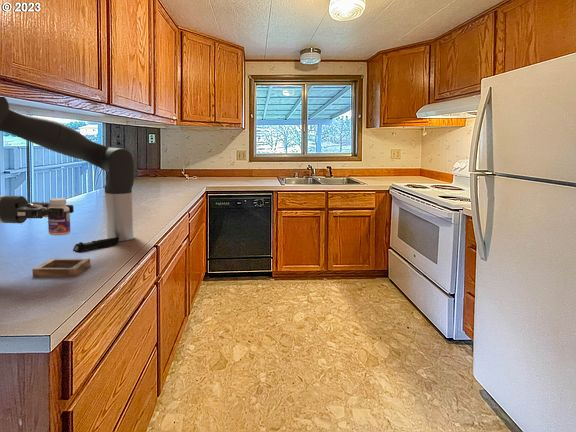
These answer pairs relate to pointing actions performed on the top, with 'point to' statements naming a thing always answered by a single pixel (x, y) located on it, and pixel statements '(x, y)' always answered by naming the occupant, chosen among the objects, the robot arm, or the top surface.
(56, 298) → the top surface
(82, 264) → the socket block
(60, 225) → the pill bottle
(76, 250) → the electric trimmer
